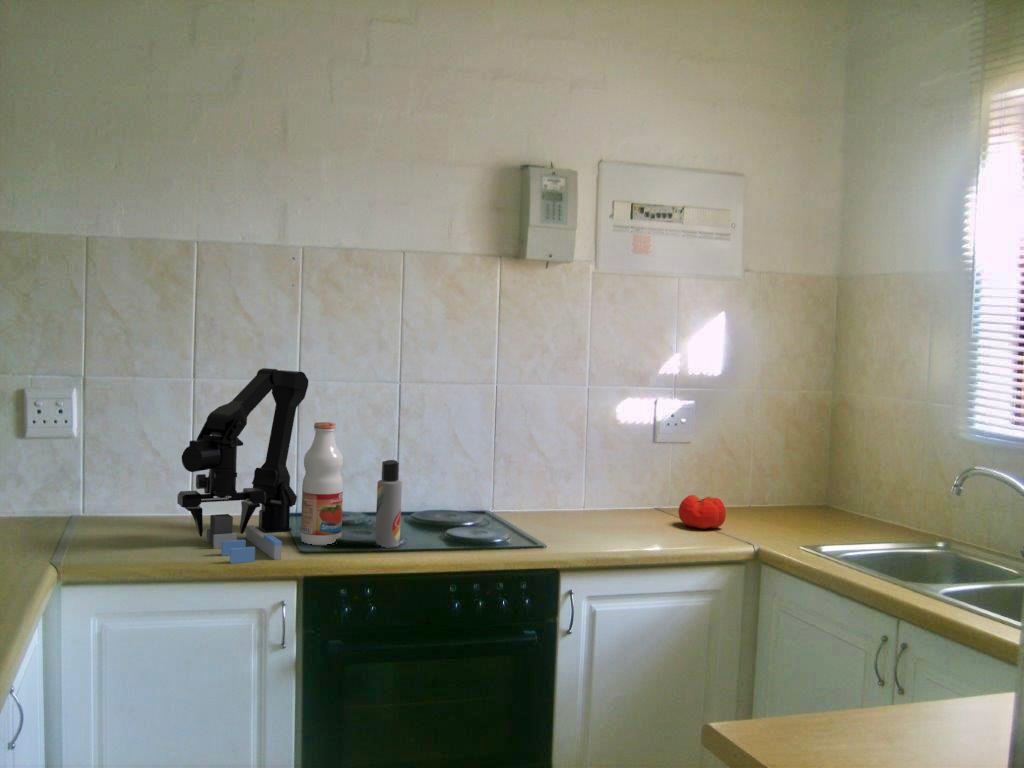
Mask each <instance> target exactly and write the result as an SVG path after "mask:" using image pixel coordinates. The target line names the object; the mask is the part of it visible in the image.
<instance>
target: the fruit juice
mask: <svg viewBox="0 0 1024 768" xmlns="http://www.w3.org/2000/svg"><path fill="white" fill-rule="evenodd" d="M313 427H314V429H313V431H314V432H315V433H314V437H313V441H312V444H311V447H309V449H307V452H305V455H304V457H303V467H304V469H305V470H304V471H305V474H304V477H303V478H302V489H301V490H302V491H301V492H302V493H301V520H300V527H301V528H300V539H301V542H302V543H303V542H304V544H306V543H307V544H306V545H310V544H312V546H328V545H327V544H332V543H334V542H335V541H336V539H338V538H340V537H341V538H342V526H343V525H342V524H343V522H342V521H343V501H344V499H343V498H344V497H343V496H344V493H343V492H344V479H343V476H342V469H343V466H344V457H343V454H342V452H341V450H340V449H339V447H338V445H337V442H336V438H335V431H336V428H337V427H336V423H334V422H329V421H327V422H326V421H325V422H320V421H319V422H314V424H313ZM332 545H333V544H332Z"/></svg>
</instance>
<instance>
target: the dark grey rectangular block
mask: <svg viewBox="0 0 1024 768" xmlns="http://www.w3.org/2000/svg"><path fill="white" fill-rule="evenodd" d="M233 519H234V517H233V516H232V515H230V514H229V513H225V514H224V513H221V514H210V519H209V520H210V521H209V528H210V542H209V544H210V545H211V546H213V535H215V534H229V533H233V530H234V529H233V527H234V525H233V524H234V523H233V521H234V520H233Z"/></svg>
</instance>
